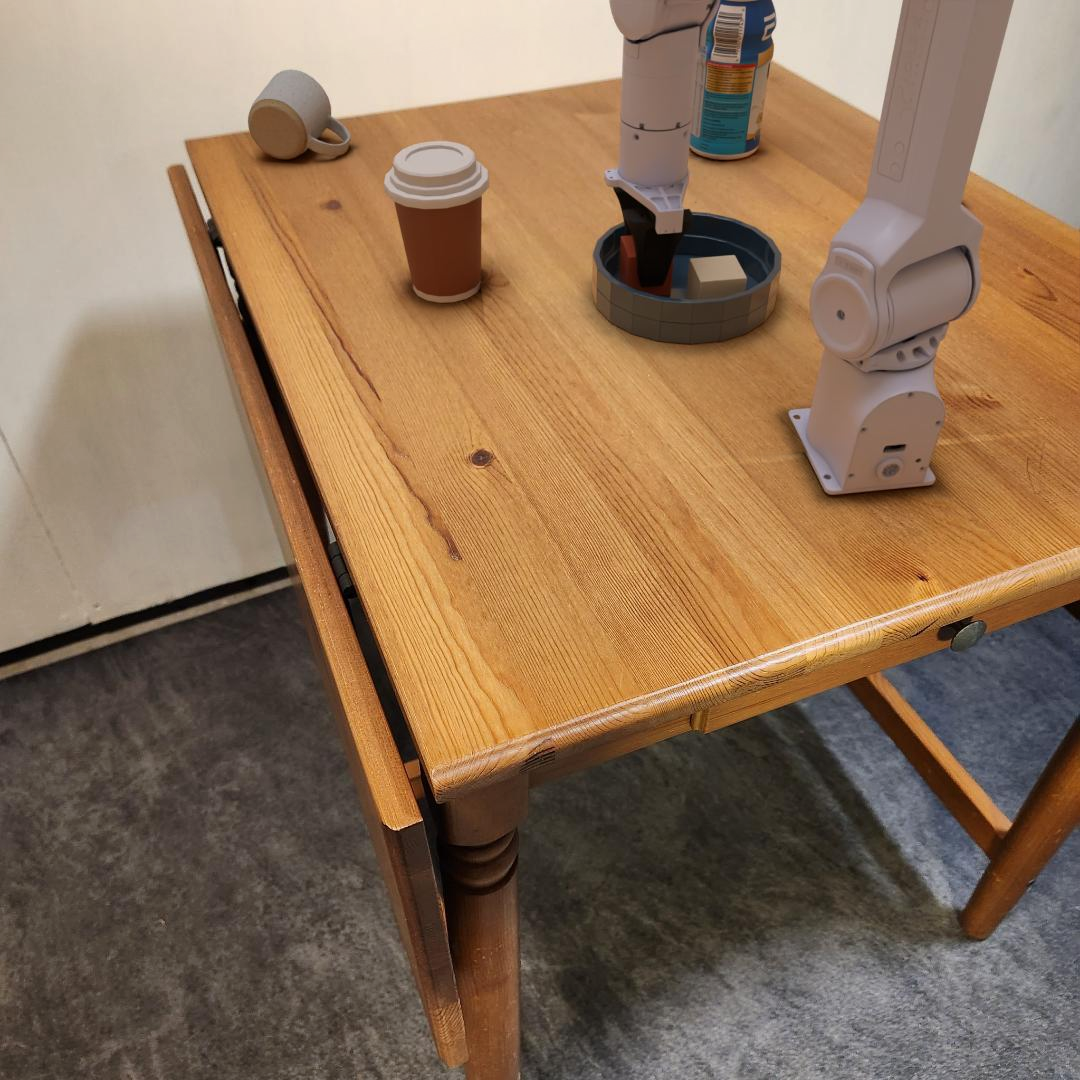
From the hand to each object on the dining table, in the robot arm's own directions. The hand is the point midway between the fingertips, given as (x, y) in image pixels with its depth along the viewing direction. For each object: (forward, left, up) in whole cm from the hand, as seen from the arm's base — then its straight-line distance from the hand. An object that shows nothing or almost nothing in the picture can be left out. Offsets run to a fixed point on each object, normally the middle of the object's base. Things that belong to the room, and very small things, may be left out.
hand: (646, 271), depth 85 cm
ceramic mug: (+38, +33, -2) cm, 50 cm away
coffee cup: (+4, +18, -2) cm, 19 cm away
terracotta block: (0, 0, -1) cm, 1 cm away
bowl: (-2, -3, -2) cm, 4 cm away
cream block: (-5, -5, -1) cm, 7 cm away
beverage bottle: (+30, -15, -2) cm, 34 cm away
